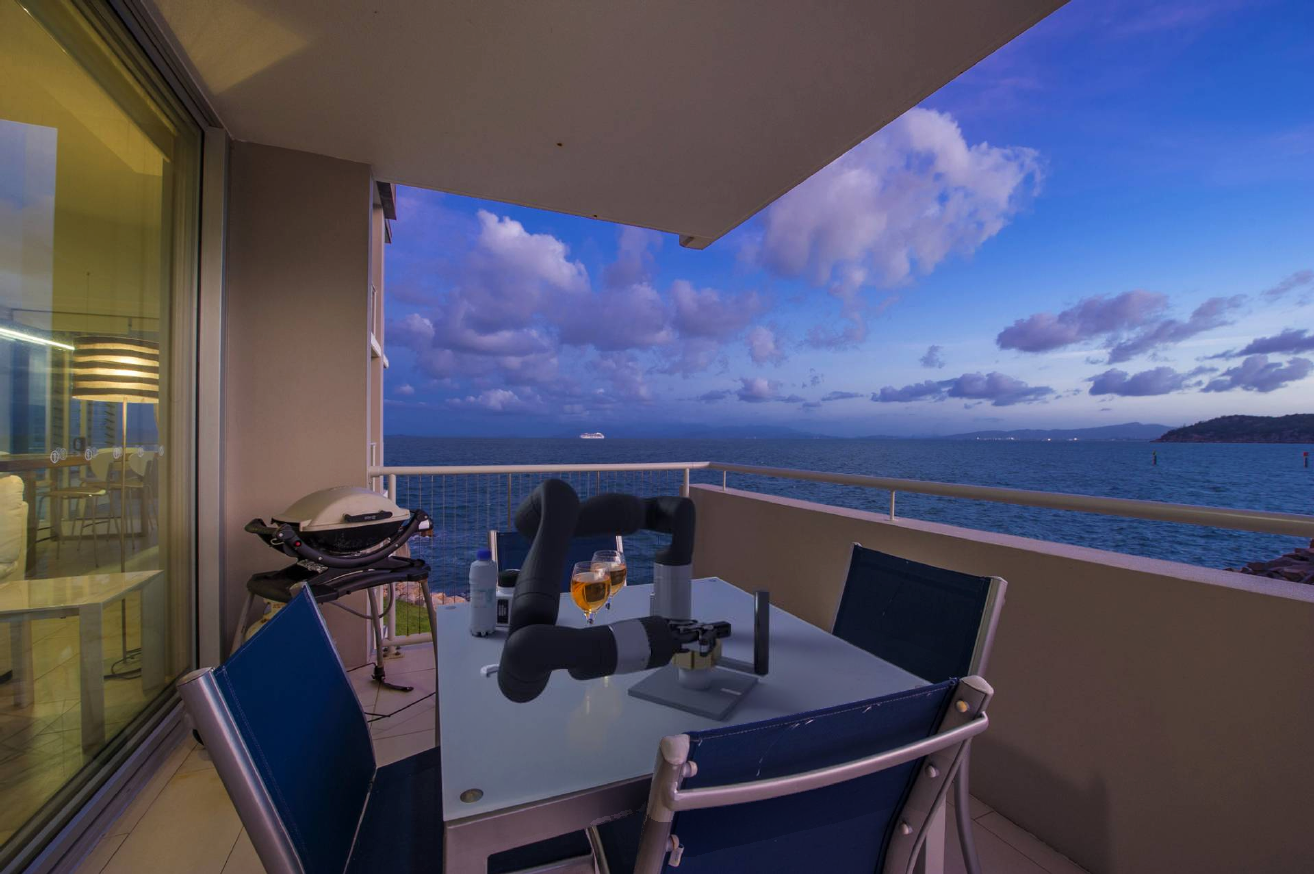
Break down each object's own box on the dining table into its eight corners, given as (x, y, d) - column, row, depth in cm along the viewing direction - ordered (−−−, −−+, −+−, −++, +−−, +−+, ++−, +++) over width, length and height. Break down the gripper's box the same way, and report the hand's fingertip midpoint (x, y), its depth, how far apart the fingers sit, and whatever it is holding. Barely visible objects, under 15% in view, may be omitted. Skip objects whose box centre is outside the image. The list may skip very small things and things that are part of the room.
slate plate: (628, 694, 100) (629, 644, 100) (676, 663, 116) (676, 619, 116) (719, 720, 91) (719, 665, 91) (758, 682, 106) (758, 635, 107)
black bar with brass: (661, 662, 102) (662, 581, 102) (686, 647, 110) (687, 573, 110) (757, 687, 92) (759, 597, 92) (777, 669, 100) (778, 587, 100)
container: (521, 627, 138) (522, 574, 138) (490, 626, 138) (491, 573, 138) (528, 617, 145) (530, 567, 146) (499, 617, 146) (500, 567, 146)
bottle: (461, 635, 131) (463, 550, 131) (480, 627, 137) (482, 545, 137) (484, 639, 128) (486, 552, 129) (502, 630, 134) (504, 548, 135)
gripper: (615, 655, 89) (705, 639, 97) (656, 686, 77) (754, 665, 86) (616, 608, 89) (706, 596, 97) (657, 632, 77) (754, 616, 86)
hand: (728, 628), depth 91 cm, fingers closed
